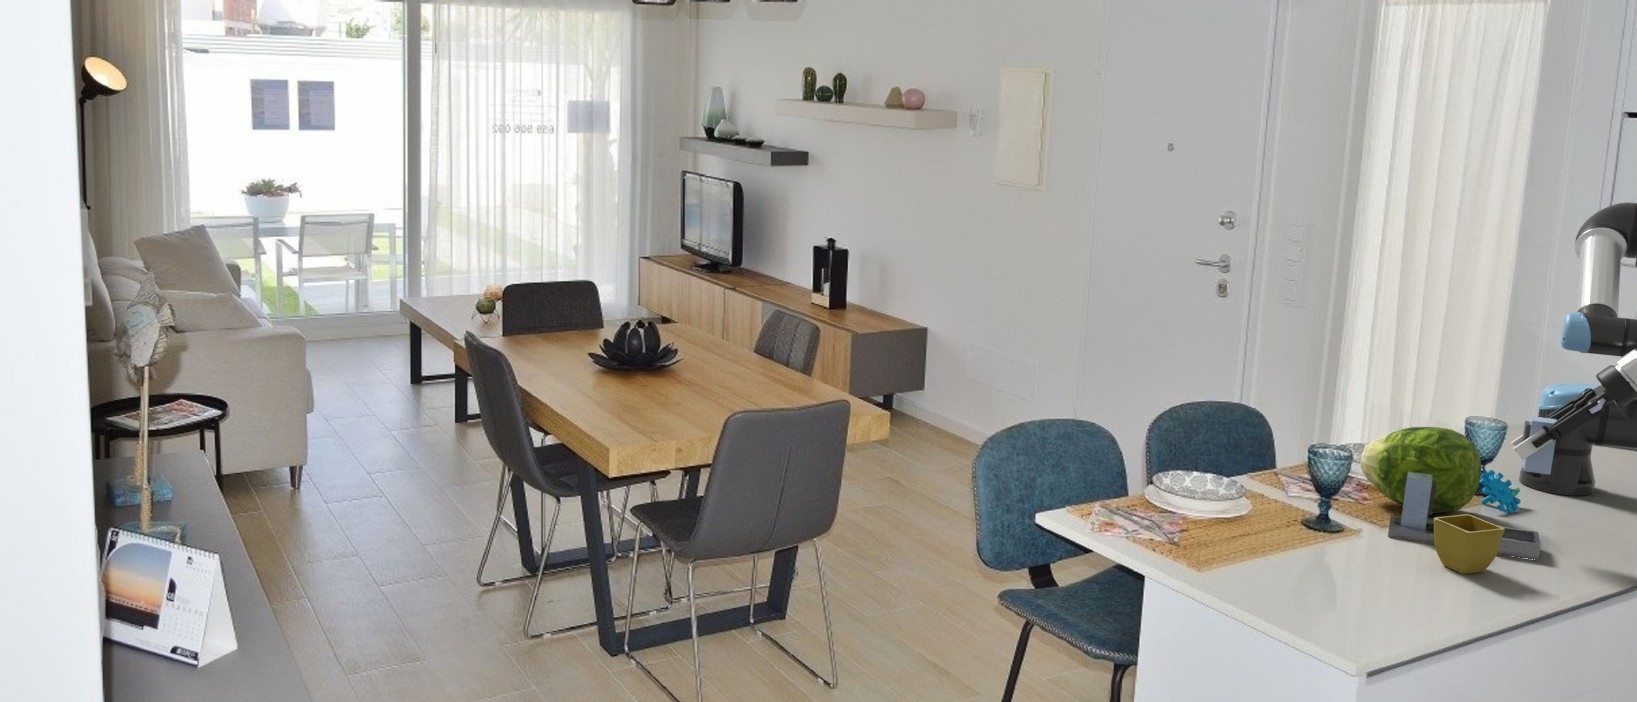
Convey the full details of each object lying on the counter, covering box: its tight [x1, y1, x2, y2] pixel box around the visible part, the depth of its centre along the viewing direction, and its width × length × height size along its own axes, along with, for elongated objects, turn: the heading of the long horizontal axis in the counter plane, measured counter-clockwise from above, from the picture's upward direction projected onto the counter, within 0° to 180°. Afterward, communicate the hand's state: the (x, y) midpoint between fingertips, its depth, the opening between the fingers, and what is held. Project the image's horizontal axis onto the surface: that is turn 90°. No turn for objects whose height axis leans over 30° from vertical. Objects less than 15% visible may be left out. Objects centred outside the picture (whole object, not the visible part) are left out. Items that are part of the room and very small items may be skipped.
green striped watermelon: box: [1360, 426, 1482, 514], centre depth 293 cm, size 19×23×18 cm
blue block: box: [1522, 415, 1557, 475], centre depth 270 cm, size 4×5×10 cm
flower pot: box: [1433, 513, 1505, 575], centre depth 259 cm, size 9×9×9 cm
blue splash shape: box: [1479, 469, 1521, 514], centre depth 298 cm, size 11×6×10 cm
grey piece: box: [1387, 472, 1542, 561], centre depth 273 cm, size 9×27×12 cm, turn 66°
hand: (1517, 450), depth 272 cm, fingers closed on blue block, 4 cm apart
